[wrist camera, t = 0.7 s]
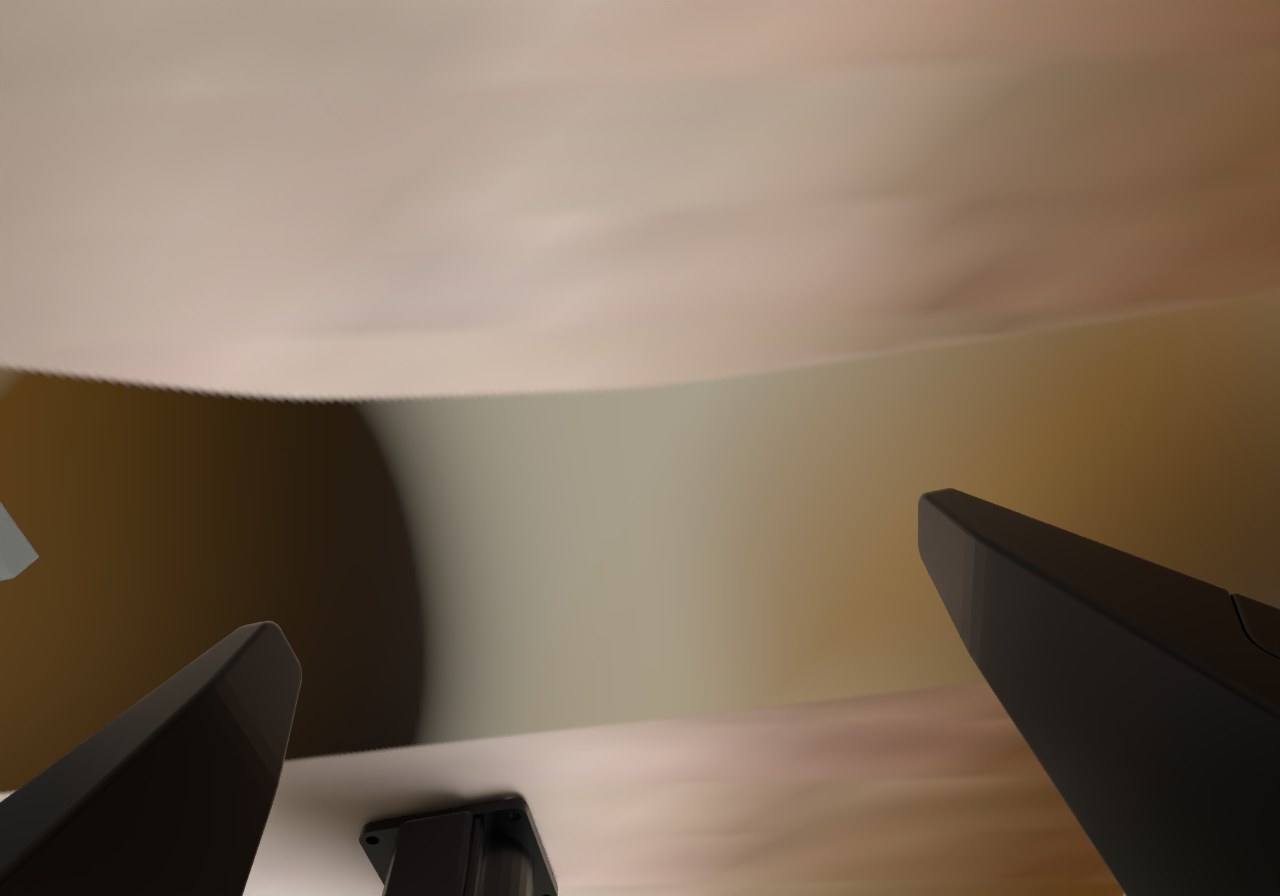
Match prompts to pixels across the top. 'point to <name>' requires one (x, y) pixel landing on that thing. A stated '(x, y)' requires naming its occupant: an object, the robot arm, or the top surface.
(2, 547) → the rubber mat
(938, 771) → the top surface
